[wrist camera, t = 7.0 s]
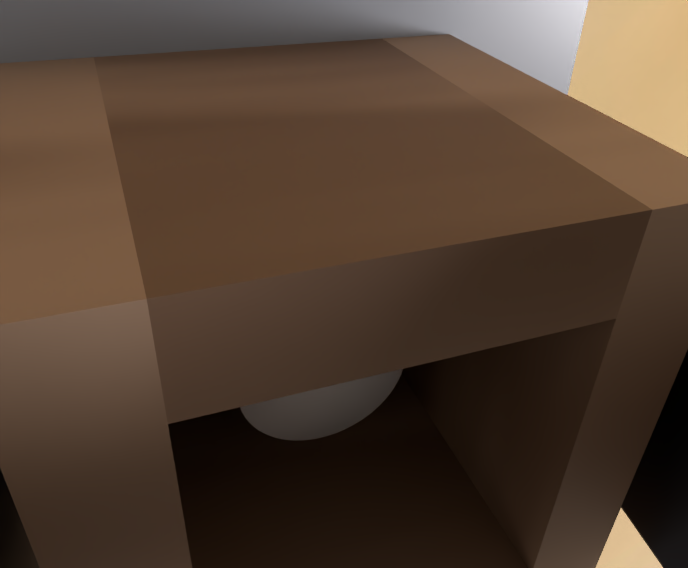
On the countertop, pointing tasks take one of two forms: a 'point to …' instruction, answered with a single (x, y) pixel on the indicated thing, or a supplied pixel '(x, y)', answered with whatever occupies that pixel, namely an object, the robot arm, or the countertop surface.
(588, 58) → the countertop surface
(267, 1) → the pin plate
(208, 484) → the walnut sleeve
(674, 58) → the countertop surface
